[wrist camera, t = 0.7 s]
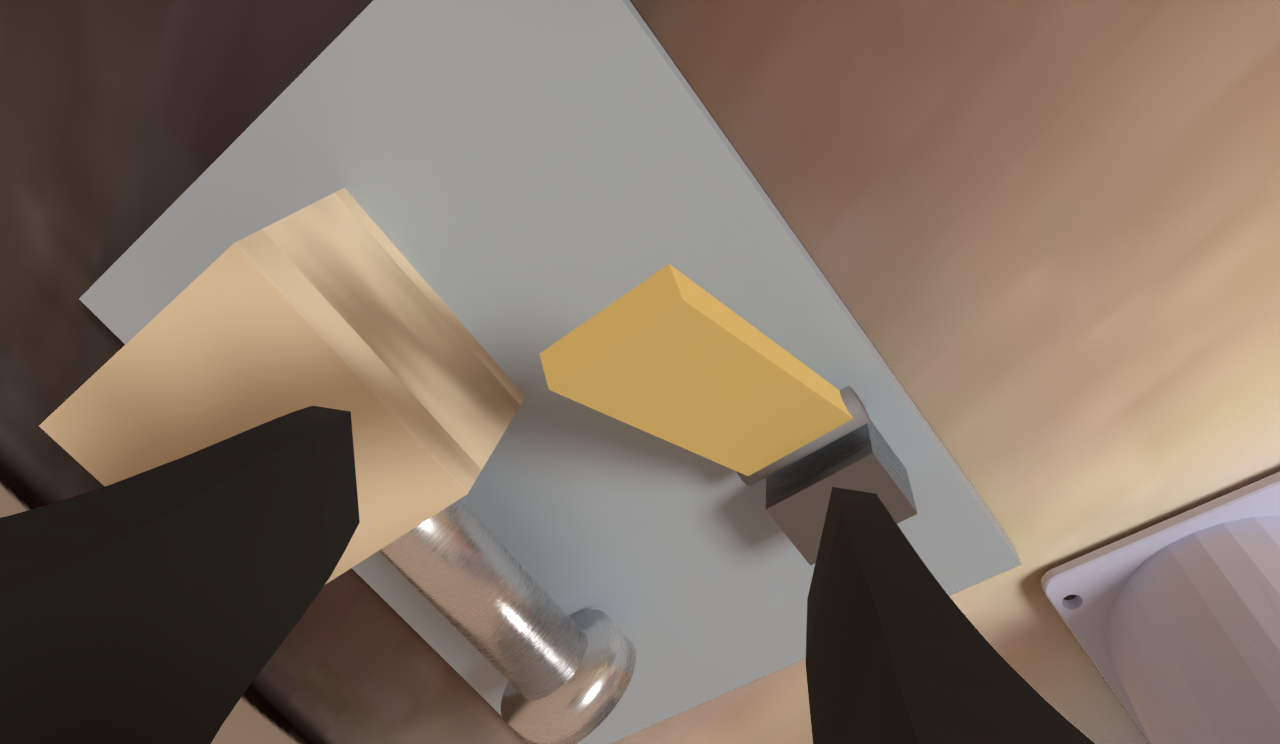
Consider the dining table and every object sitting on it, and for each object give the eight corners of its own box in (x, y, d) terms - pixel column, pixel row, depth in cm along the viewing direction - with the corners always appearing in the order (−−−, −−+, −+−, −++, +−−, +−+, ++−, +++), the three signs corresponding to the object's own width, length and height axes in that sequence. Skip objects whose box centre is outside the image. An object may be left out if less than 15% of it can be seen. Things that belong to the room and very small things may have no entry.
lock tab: (857, 392, 21) (874, 426, 20) (744, 456, 22) (757, 489, 21) (676, 252, 14) (695, 297, 14) (530, 354, 15) (542, 399, 15)
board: (1013, 545, 23) (1021, 564, 22) (559, 748, 30) (554, 767, 29) (528, -142, 18) (518, -147, 17) (99, 289, 24) (78, 299, 23)
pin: (645, 617, 25) (623, 723, 22) (547, 665, 27) (511, 773, 23) (364, 305, 22) (284, 370, 18) (271, 380, 23) (180, 454, 20)
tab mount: (906, 469, 22) (917, 513, 20) (807, 518, 23) (810, 565, 21) (865, 412, 21) (873, 453, 19) (766, 466, 22) (765, 509, 21)
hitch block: (525, 396, 23) (467, 494, 18) (343, 519, 25) (257, 627, 21) (344, 187, 21) (233, 242, 17) (170, 344, 24) (38, 425, 19)
